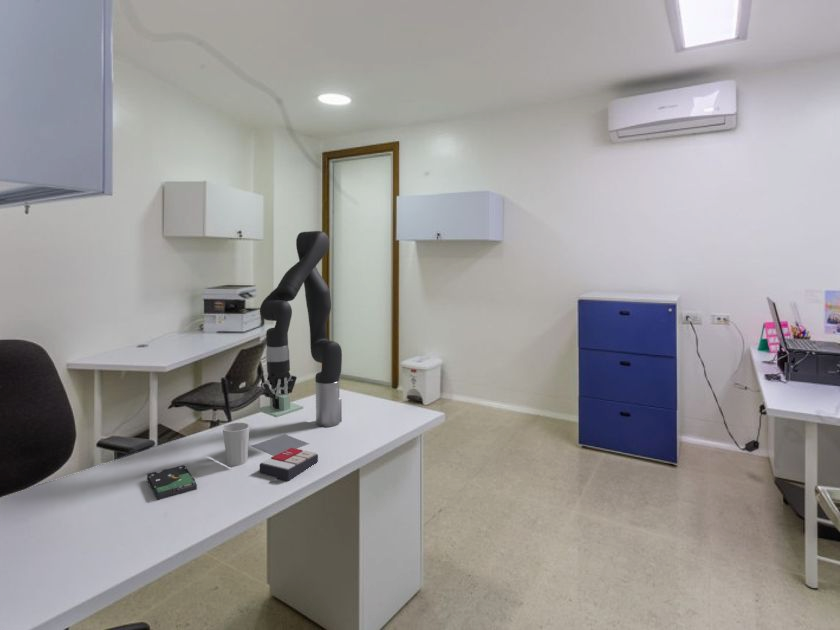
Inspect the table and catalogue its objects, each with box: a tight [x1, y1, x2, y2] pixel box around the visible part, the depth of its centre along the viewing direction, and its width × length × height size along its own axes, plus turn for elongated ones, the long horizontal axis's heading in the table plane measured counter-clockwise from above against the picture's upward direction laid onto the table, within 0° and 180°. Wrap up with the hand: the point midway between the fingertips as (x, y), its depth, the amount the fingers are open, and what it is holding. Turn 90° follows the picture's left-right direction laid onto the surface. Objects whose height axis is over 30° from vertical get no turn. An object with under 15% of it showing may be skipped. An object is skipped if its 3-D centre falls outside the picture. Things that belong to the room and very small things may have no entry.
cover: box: [256, 392, 304, 418], centre depth 166 cm, size 11×11×5 cm
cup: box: [222, 422, 250, 468], centre depth 154 cm, size 8×8×12 cm
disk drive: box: [146, 464, 198, 501], centre depth 139 cm, size 10×3×15 cm
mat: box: [251, 434, 310, 457], centre depth 168 cm, size 14×14×1 cm
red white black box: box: [259, 448, 319, 483], centre depth 151 cm, size 11×4×15 cm
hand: (280, 407), depth 167 cm, fingers closed on cover, 2 cm apart
